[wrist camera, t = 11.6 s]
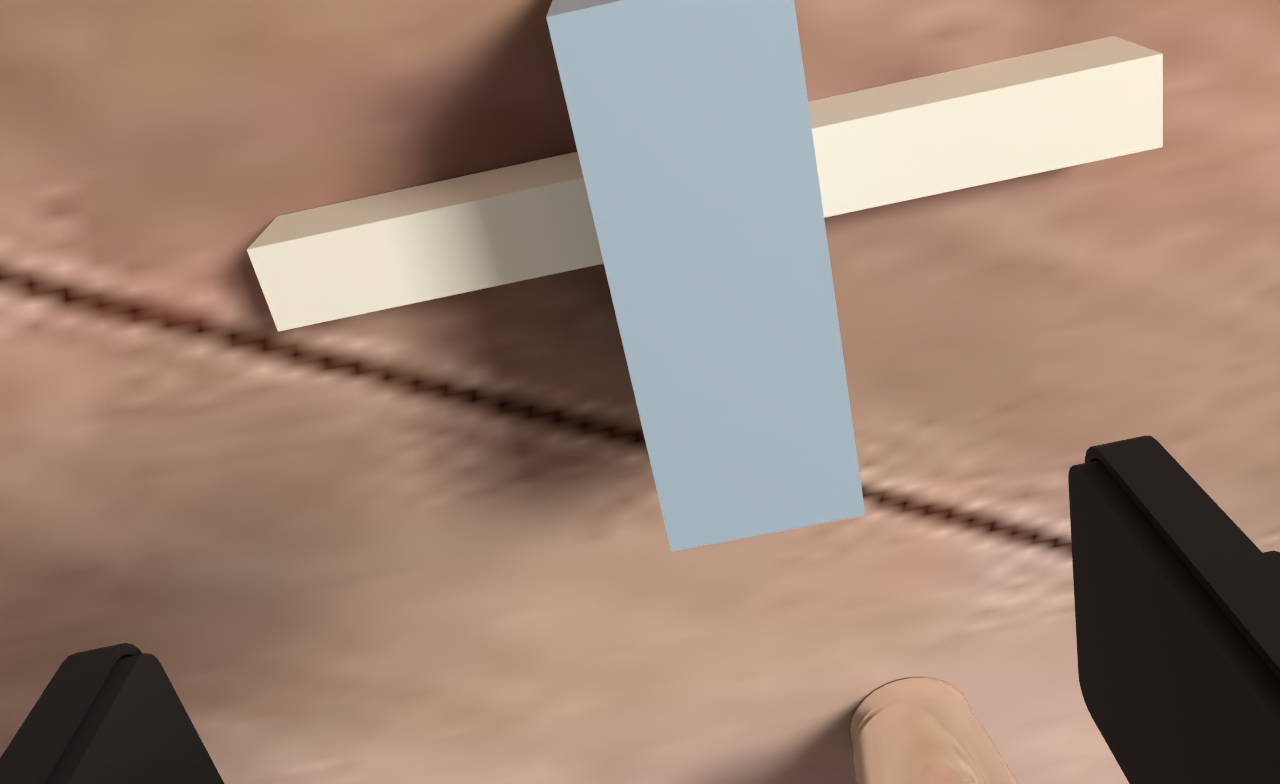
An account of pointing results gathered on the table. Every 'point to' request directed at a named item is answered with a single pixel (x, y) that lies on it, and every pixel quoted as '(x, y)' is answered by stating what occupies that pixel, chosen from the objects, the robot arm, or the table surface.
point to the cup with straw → (923, 738)
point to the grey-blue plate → (714, 257)
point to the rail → (846, 163)
